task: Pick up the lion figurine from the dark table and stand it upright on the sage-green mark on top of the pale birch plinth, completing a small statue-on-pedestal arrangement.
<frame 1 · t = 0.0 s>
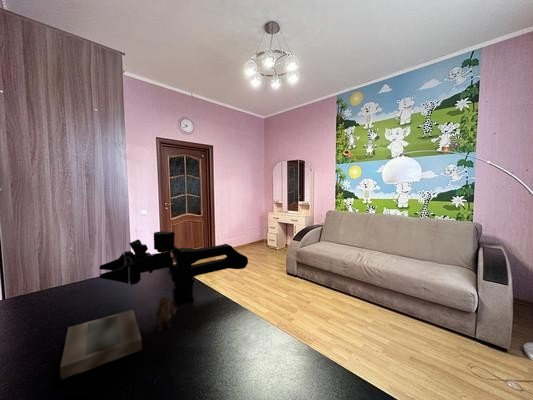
hand: (99, 271, 71), 17 cm above the table, tool horizontal, fingers open, 9 cm apart
lion figurine: (166, 323, 72), on the table
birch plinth: (104, 343, 63), on the table
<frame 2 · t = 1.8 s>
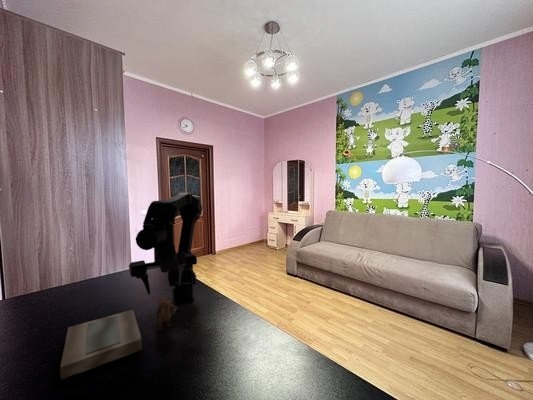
hand: (165, 290, 72), 11 cm above the table, tool pointing down, fingers open, 9 cm apart
nothing on the table moved.
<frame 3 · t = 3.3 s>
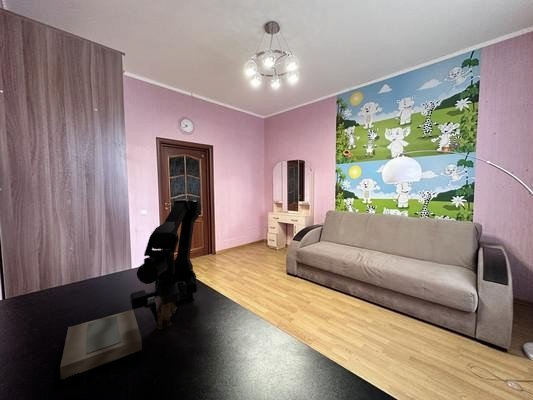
hand: (165, 318, 72), 1 cm above the table, tool pointing down, fingers open, 5 cm apart
lion figurine: (166, 322, 73), on the table, touching gripper
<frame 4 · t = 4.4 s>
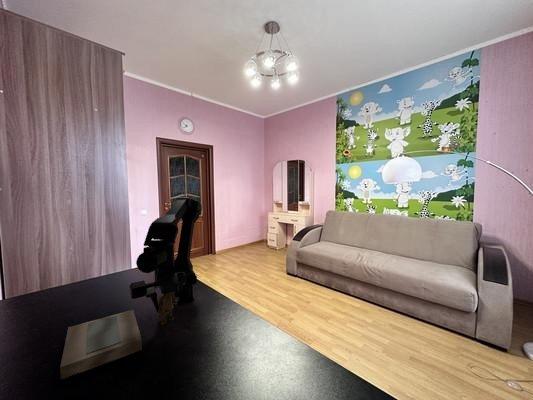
hand: (165, 309, 72), 4 cm above the table, tool pointing down, fingers closed on lion figurine, 4 cm apart
lion figurine: (168, 318, 72), point 1 cm above the table, touching gripper
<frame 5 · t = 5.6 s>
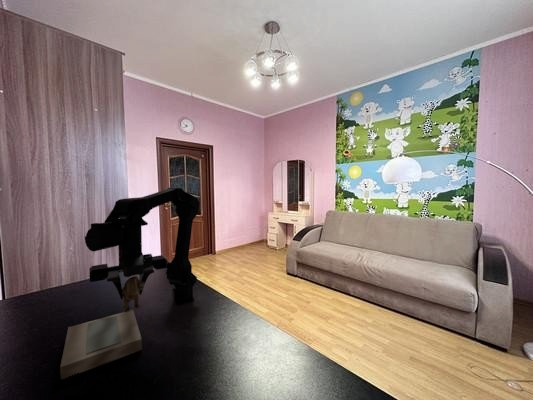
hand: (131, 296, 66), 11 cm above the table, tool pointing down, fingers closed on lion figurine, 4 cm apart
lion figurine: (134, 308, 66), point 8 cm above the table, touching gripper
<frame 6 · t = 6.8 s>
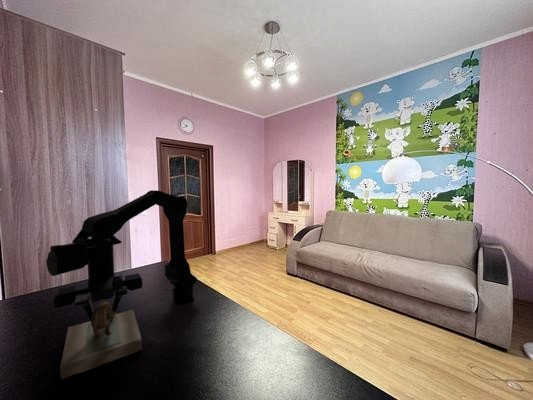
hand: (103, 319, 62), 7 cm above the table, tool pointing down, fingers closed on lion figurine, 4 cm apart
lion figurine: (105, 331, 62), point 3 cm above the table, touching gripper
when the fingers open (5 cm above the table, at t = 7.8 s): lion figurine stays where it is, resting on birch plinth.
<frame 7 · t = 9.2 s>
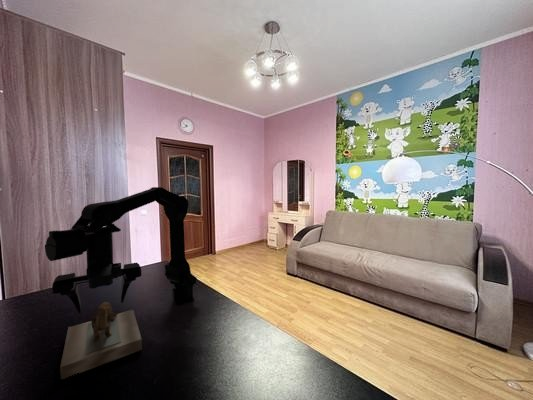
hand: (102, 307, 62), 10 cm above the table, tool pointing down, fingers open, 9 cm apart
lion figurine: (105, 332, 63), point 3 cm above the table, touching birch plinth
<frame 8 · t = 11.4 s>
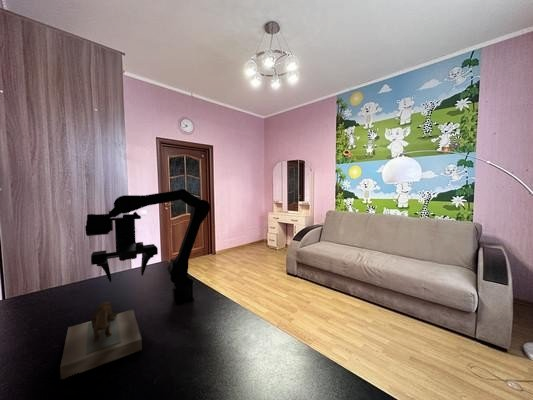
hand: (126, 278, 77), 12 cm above the table, tool pointing down, fingers open, 9 cm apart
nothing on the table moved.
at the end: lion figurine 0.5 cm off-centre on the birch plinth, point 3.0 cm above the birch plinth's base; lion figurine tilted 0°; the gripper is holding nothing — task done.
